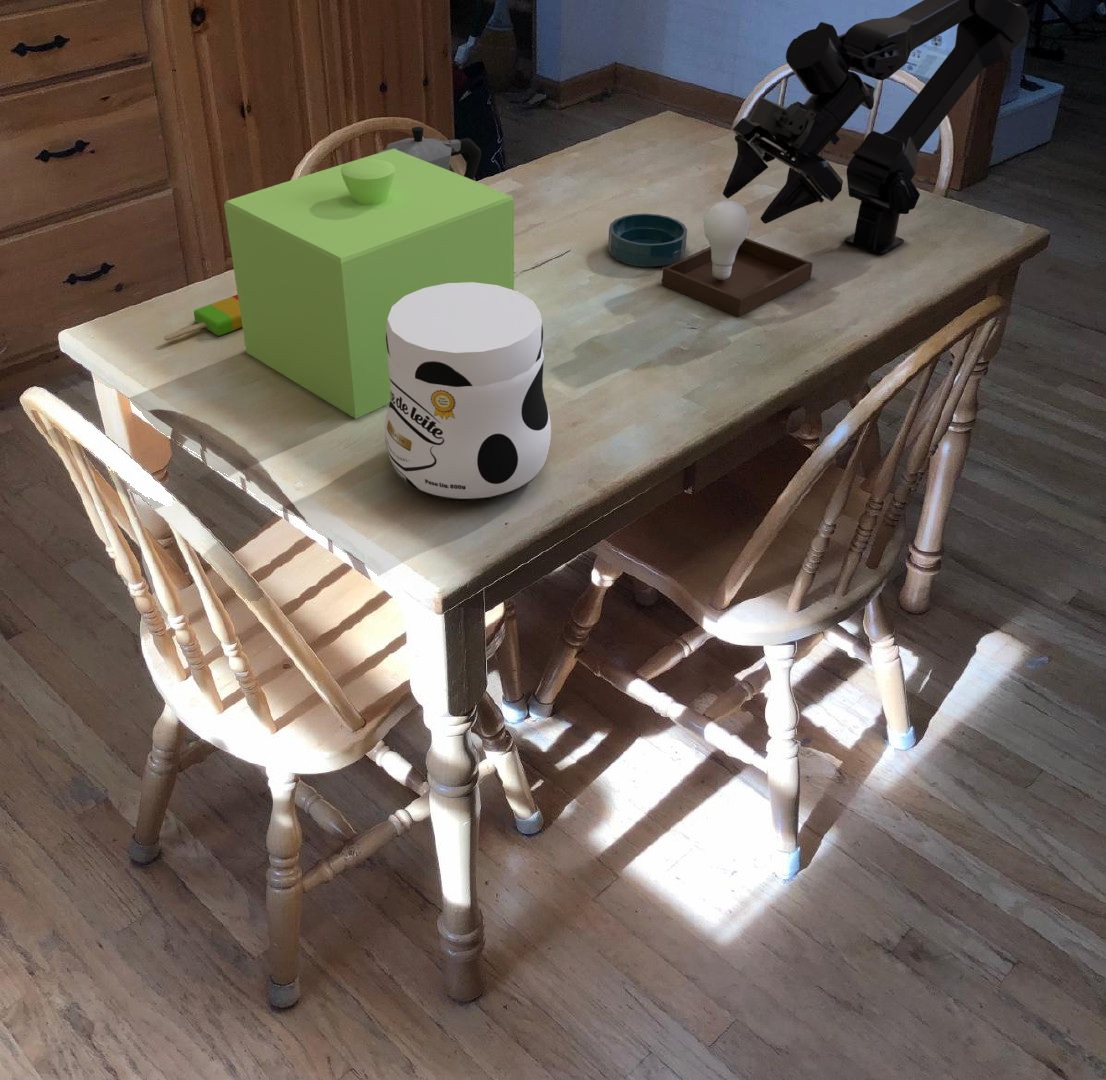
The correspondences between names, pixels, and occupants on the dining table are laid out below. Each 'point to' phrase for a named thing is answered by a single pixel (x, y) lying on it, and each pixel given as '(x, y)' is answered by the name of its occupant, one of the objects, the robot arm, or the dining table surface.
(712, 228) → the lightbulb
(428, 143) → the coffeepot
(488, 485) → the milk container
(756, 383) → the dining table surface
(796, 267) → the tray
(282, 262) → the canister
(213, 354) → the dining table surface
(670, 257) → the bowl
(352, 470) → the dining table surface
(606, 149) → the dining table surface
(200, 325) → the popsicle
